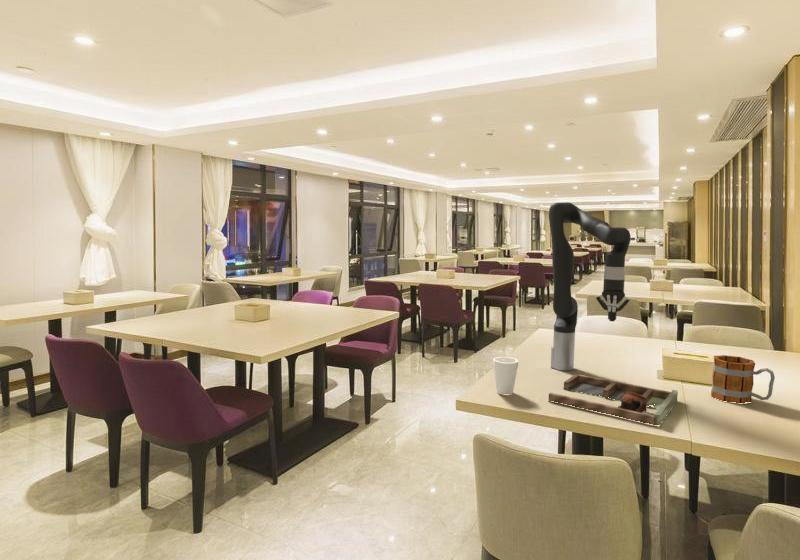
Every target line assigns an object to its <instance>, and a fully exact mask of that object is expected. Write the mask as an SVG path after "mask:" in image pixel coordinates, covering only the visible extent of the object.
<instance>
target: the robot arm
mask: <svg viewBox="0 0 800 560" xmlns="http://www.w3.org/2000/svg"><path fill="white" fill-rule="evenodd" d="M548 220H549V228H550V236H551V238H550V239H551V254H552V255H551V260H552V261H551V263H552V279H553V298H552V299H553V300H552V301H553V302H552V309H553V312H554V313H555V315H556V319H555V322H554V325H553V344H552V345H553V346H552V347H551V353H550V368H553V369H554V370H558V371H565V372H566V371H573V370H574V366H575V363H574V361H575V343H576V342H575V341H576V327H577V324H578V314H579V313H578V312H579V311H578V308H579V307H578V301H577V300H576V298H575V297H573V296H572V286H571V285H572V279H573V276H574V270H575V260H574V259H575V253H574V249H573V248H572V245H571V244H570V242H569V241H568V239H567V237H566V235H565V230H564V229H565V227H564V224H570V223H571V224H576V225H579V226H580V227H581V229H582V230H583V231H584V232H585V233H587V234H589V235H591V236H593V237H595V238H597V239H598V240H599V241H600V242H601V243H603V244H605V245H607V246H613V247H612V250H610V251H608V252H606V254H605V263H604V264H605V266H604V271H603V273H604V274H603V288H602V289H603V290H602V292H601V294H600V295H599V296H597V297H596V298H595V299H596V300H597V303H598V304H599V305H600V306H601V308H602V309H603V310H604V311H607V313H608V314H607V320H609V322H615V321H616V320H617V315H618V314H617V313H618V312H621V311H622V310H623V309H624V308H626V306H627V305H628V304H629V303H630V302H631V299H630V298H627V296H626V294H625V279H626V277H625V276H626V275H625V274H626V270H625V267H626V254H627V253H628V249H629V246H630V243H631V233H630V230H629V229H627V228H626V227H622V226H621V227H620V226H619V227H614V226H613V227H612V226H610V224H609V223H608V222H606V221H605V220H602V219H599V218H597V217H595V216H593V215H590V214H588V213H587V212H585V211H584V210H582V209H581V208H580V207H578V206H577V205H575V204H574V203H571V202H568V201H567V202H554V203H551V205H550V206H549V210H548ZM621 301H622V303H621V304H620V302H621ZM619 304H620V305H619Z"/></svg>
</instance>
